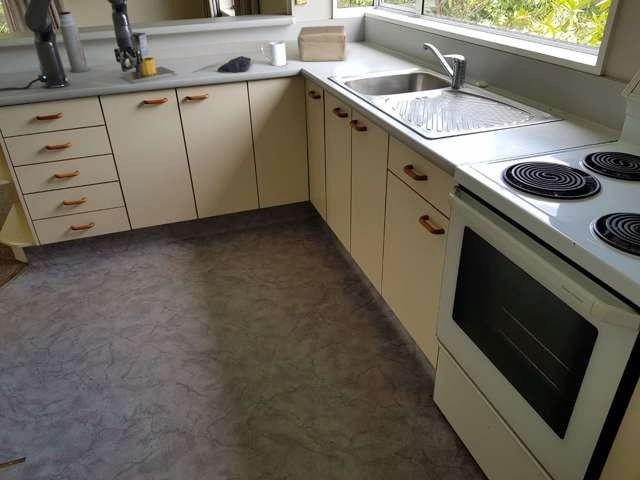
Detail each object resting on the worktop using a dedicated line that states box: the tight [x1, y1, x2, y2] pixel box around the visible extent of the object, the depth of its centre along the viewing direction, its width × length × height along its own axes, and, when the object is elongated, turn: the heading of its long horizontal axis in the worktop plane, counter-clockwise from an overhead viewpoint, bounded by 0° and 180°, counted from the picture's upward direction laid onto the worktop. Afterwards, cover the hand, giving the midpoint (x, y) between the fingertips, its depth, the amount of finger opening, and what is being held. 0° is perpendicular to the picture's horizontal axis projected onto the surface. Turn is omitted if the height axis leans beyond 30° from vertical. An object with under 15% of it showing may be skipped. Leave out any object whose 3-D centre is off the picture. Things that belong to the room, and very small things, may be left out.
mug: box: [260, 41, 287, 67], centre depth 263 cm, size 12×8×10 cm, turn 87°
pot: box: [126, 56, 157, 75], centre depth 245 cm, size 17×8×6 cm, turn 157°
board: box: [120, 66, 175, 81], centre depth 250 cm, size 22×16×2 cm
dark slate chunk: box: [217, 55, 252, 73], centre depth 260 cm, size 15×22×5 cm
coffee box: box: [128, 31, 150, 66], centre depth 267 cm, size 9×6×16 cm
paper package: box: [297, 25, 347, 62], centre depth 275 cm, size 27×26×14 cm
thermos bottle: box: [58, 11, 89, 73], centre depth 257 cm, size 8×8×28 cm
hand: (131, 72), depth 240 cm, fingers open, 7 cm apart
